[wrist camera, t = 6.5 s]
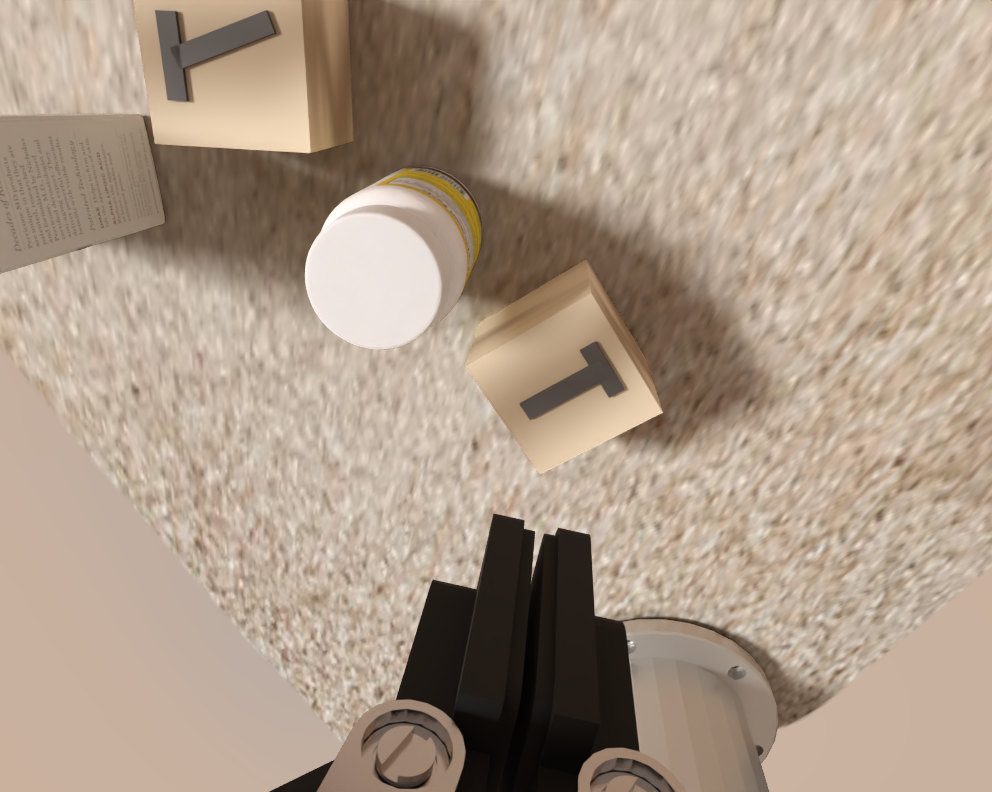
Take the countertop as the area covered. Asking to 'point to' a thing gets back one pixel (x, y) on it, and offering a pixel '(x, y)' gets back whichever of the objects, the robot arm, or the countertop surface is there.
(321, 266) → the supplement bottle
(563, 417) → the digit block one
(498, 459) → the countertop surface
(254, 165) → the countertop surface
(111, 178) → the skincare box
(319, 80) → the digit block seven
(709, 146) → the countertop surface
